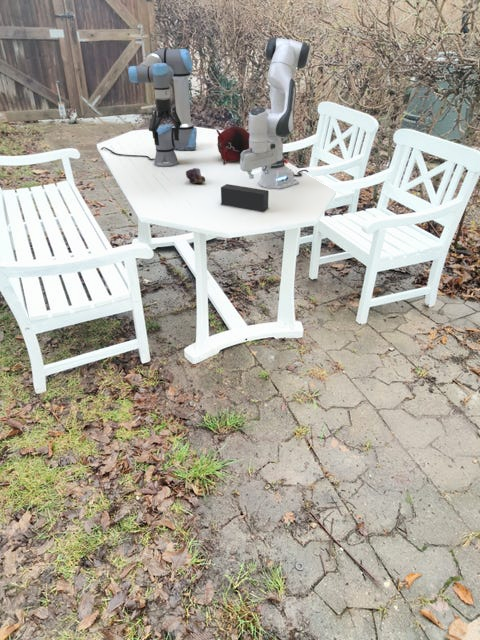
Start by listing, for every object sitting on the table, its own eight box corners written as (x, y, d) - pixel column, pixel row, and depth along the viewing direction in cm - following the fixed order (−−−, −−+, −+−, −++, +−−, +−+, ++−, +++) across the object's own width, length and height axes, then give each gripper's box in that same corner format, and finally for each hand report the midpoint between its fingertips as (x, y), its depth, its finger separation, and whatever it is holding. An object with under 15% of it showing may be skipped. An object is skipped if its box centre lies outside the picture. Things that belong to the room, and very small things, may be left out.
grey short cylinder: (196, 150, 320) (194, 121, 309) (171, 151, 319) (168, 122, 308) (196, 145, 335) (194, 116, 324) (172, 145, 334) (169, 117, 322)
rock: (199, 181, 267) (183, 183, 263) (197, 166, 264) (182, 168, 259) (207, 183, 258) (191, 185, 254) (206, 167, 254) (189, 169, 250)
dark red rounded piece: (214, 132, 305) (214, 129, 282) (248, 124, 304) (250, 121, 281) (221, 164, 312) (221, 164, 288) (254, 157, 311) (257, 156, 288)
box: (221, 204, 231) (220, 187, 226) (226, 201, 236) (226, 183, 231) (263, 212, 222) (263, 194, 217) (268, 208, 227) (268, 190, 222)
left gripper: (147, 102, 217) (152, 148, 229) (186, 96, 232) (189, 139, 244) (138, 100, 221) (143, 145, 233) (176, 94, 236) (180, 137, 248)
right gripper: (244, 152, 202) (245, 182, 210) (279, 143, 211) (279, 172, 219) (236, 149, 206) (238, 179, 215) (271, 141, 216) (271, 169, 224)
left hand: (167, 142), depth 238 cm, fingers open, 13 cm apart
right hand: (259, 176), depth 217 cm, fingers open, 8 cm apart
